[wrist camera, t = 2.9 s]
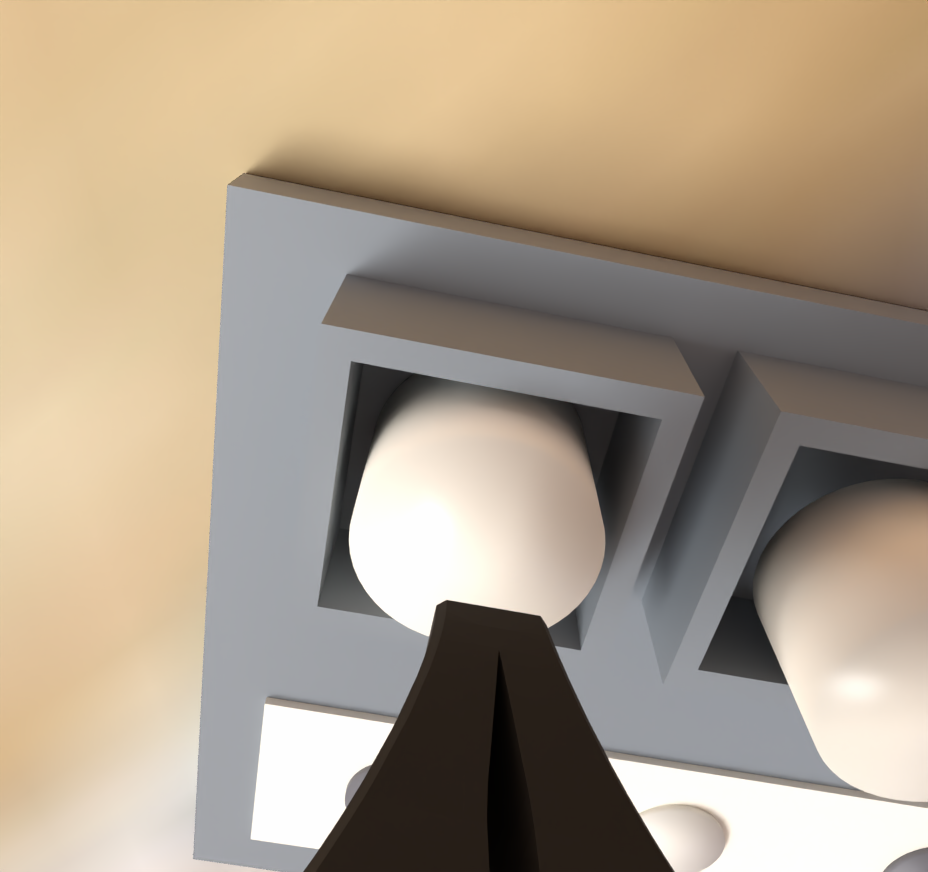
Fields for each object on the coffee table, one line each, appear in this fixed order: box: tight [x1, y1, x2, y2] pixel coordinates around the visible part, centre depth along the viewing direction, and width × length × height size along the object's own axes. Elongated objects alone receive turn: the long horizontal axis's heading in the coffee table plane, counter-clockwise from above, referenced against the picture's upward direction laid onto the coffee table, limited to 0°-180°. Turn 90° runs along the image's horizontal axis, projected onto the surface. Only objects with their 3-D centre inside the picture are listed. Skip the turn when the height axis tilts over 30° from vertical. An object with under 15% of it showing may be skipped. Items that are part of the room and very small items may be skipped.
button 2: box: [349, 373, 605, 636], centre depth 14 cm, size 4×4×3 cm
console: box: [193, 173, 928, 872], centre depth 18 cm, size 18×24×3 cm
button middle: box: [753, 479, 928, 802], centre depth 13 cm, size 4×4×3 cm
